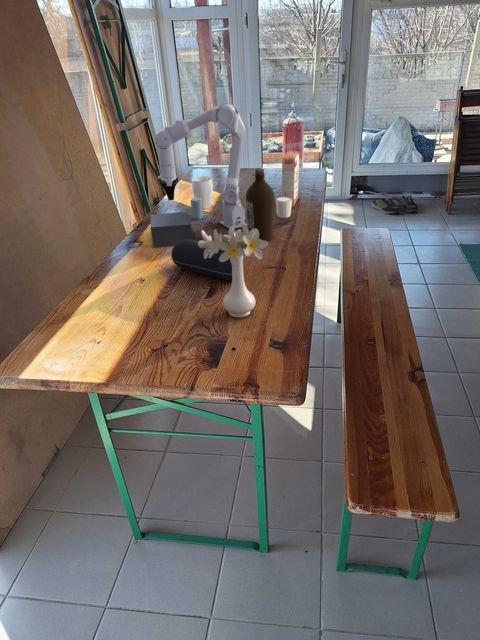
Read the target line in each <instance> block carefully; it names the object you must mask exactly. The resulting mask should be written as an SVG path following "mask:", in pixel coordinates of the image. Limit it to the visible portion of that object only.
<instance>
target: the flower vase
mask: <svg viewBox="0 0 480 640" xmlns="http://www.w3.org/2000/svg"><path fill="white" fill-rule="evenodd" d="M241 228H242V230H241V229H238V230H236V231H235V228H234V227H233V226H232V227H231V228H230V229H229V228H228V232H227V234H222V233H221V232H220V233H218V231H217V229H214V230H213V238H212V235H211V234H209V235H208V234H207V233H206V232H205V230H203V229H201V231H200V232H201V233H200V235H201V237H202V239H203V240H198V241H199V242H198V246H199V247H200V248H206V249H205V251H204V259H206V258H207V256H208V254H209V252H210V254H209V258H211V257H212V256H213V254H214V253H218V251H219V249H222V250H223V251H226V252H224V253H222V254H221V256H220V257H219V261H220V262H225V261H227V260H228V259H229V258H230V257H231V258H230V261H231V264H232V280H231V285H230V288H229V290H228V291H227V292H226V294H225V295H224V296H223V298H222V306H223V308H224V310H225V311H226V312H228V314H229V316H231V317H234V318H245V317H247V316H249V315H250V314H251V311H252V310H254V308H255V306H256V304H257V302H256V298H255V296H254V294H253V293H252V292H251V291H250V290H249V289H248V288H247V286H246V284H245V283H246V282H245V276H244V264H243V259H244V255H245V256H246V257H249V256H251V255H252V254H254V256H255V257H256V258H257V259H258V260H263V253H262V251H261V250H262V249H265V248H267V247H268V246H269V242H268V240H267V241H264V240H261V239H259V231H258V230H257V229H256V228H254V229H252V230H251V231H250V232H249V230H248V226H246V225H245V224H242V227H241ZM242 231H243V232H242ZM248 233H249V234H248ZM212 239H213V240H212ZM240 245H242V246H240ZM213 248H215V249H213Z"/></svg>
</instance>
